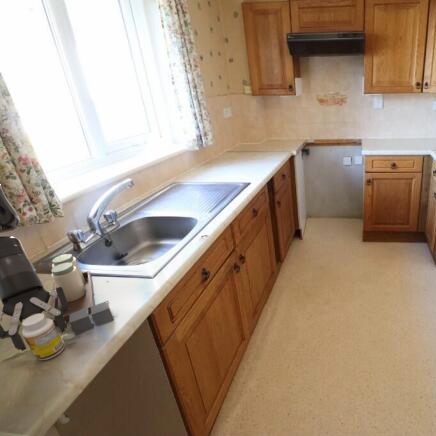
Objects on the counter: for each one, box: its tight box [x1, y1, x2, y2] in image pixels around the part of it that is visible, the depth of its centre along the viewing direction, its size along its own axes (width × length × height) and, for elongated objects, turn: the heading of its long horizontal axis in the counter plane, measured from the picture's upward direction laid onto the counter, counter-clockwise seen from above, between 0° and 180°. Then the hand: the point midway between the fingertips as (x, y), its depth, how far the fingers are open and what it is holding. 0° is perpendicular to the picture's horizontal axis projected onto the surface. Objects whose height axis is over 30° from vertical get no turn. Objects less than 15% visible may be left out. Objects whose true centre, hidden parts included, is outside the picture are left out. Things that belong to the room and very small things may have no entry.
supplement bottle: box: [21, 313, 66, 361], centre depth 75 cm, size 6×6×10 cm
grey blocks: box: [68, 300, 115, 336], centre depth 85 cm, size 9×4×4 cm, turn 126°
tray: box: [50, 270, 96, 327], centre depth 94 cm, size 9×22×3 cm, turn 36°
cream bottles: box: [50, 253, 86, 302], centre depth 96 cm, size 6×12×10 cm, turn 36°
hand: (44, 340), depth 74 cm, fingers open, 6 cm apart
